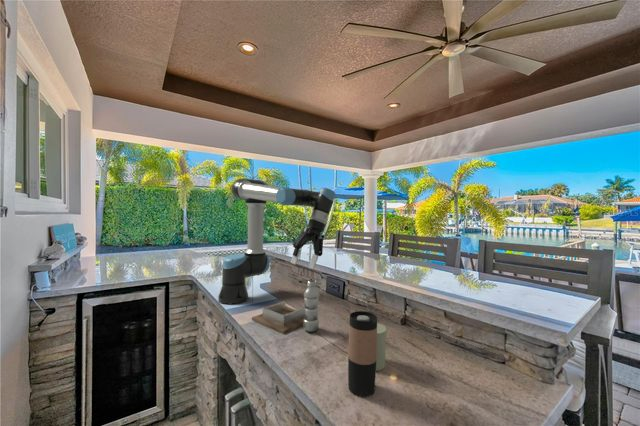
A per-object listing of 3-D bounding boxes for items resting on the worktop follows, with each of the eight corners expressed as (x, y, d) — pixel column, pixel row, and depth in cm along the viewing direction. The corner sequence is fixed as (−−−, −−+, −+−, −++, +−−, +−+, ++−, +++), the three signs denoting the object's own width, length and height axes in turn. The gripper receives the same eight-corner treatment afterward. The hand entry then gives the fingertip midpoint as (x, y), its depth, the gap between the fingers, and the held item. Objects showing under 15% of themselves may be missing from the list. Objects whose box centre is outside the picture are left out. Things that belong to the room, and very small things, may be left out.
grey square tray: (283, 309, 131) (284, 301, 131) (304, 317, 122) (305, 308, 122) (262, 317, 121) (262, 308, 121) (283, 326, 113) (283, 316, 112)
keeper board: (285, 308, 136) (285, 305, 136) (316, 319, 123) (316, 316, 123) (251, 320, 121) (251, 317, 121) (283, 334, 108) (283, 331, 108)
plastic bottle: (320, 328, 114) (322, 279, 114) (315, 335, 108) (316, 283, 108) (306, 325, 116) (307, 278, 116) (300, 332, 110) (301, 282, 110)
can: (383, 356, 93) (384, 321, 93) (387, 372, 84) (388, 333, 84) (355, 354, 94) (356, 319, 94) (356, 370, 85) (357, 331, 85)
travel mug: (345, 380, 80) (347, 310, 79) (371, 379, 80) (373, 310, 80) (350, 398, 72) (352, 321, 72) (379, 397, 73) (381, 321, 72)
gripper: (308, 214, 114) (291, 264, 111) (337, 230, 134) (323, 272, 131) (295, 211, 119) (278, 258, 116) (325, 226, 138) (311, 267, 135)
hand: (302, 266), depth 123 cm, fingers open, 13 cm apart
